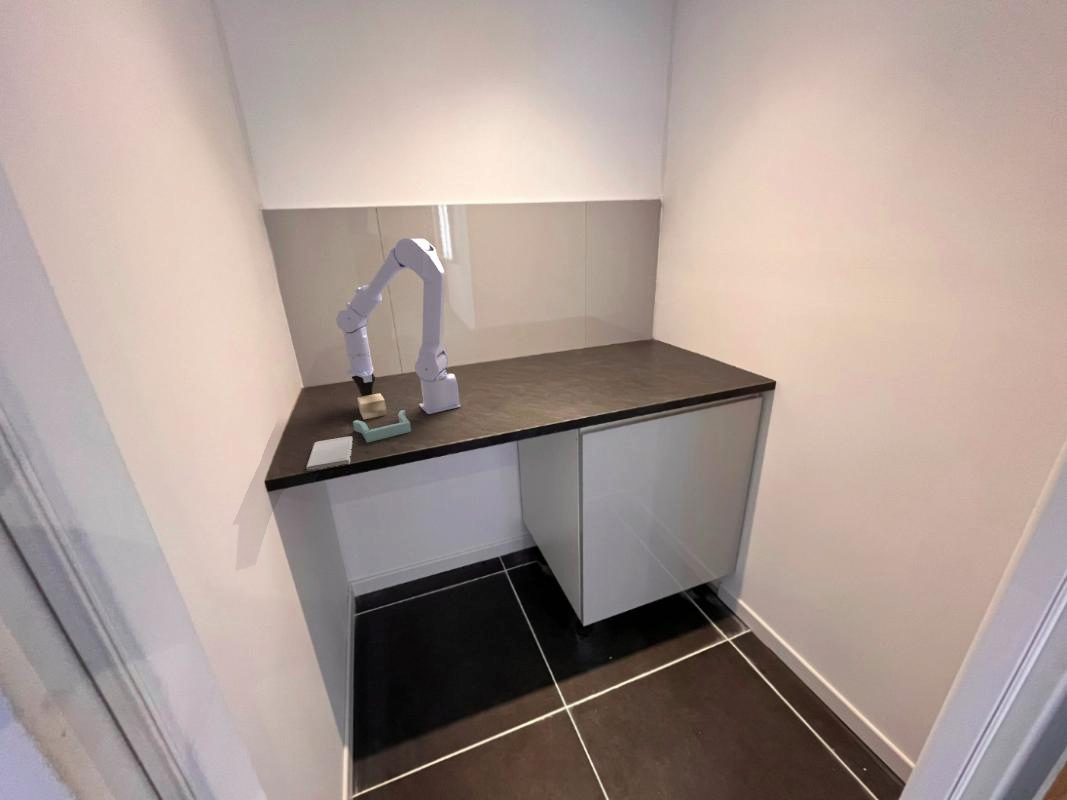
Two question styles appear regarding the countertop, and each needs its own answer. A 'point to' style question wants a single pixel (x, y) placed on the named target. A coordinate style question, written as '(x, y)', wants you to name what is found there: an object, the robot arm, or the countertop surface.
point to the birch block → (372, 406)
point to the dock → (383, 429)
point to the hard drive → (330, 453)
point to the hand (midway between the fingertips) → (367, 399)
